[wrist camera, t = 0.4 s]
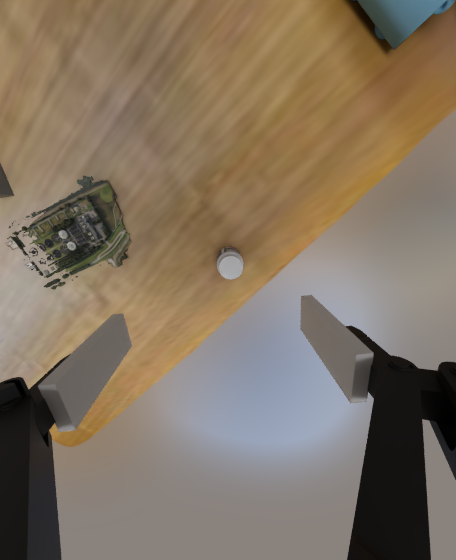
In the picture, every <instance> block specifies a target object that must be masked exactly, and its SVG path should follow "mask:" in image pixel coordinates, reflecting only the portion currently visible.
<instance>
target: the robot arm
mask: <svg viewBox="0 0 456 560" xmlns="http://www.w3.org/2000/svg"><path fill="white" fill-rule="evenodd" d="M301 330H302V332H303V333H304V334H305V336H306V338H307V339H308V341H309V342H310V344H311V345H312V347H313V348H314V350H315V351H316V353H317V354H318V355H319V357H320V358H321V360H322V362H323V363H324V364H325V366H326V367H327V369H328V370H329V372H330V373H331V375H332V376H333V378H334V379H335V381H336V382H337V384H338V385H339V387H340V388H341V390H342V391H343V393H344V394H345V396H346V397H347V399H348V400H349V401H350V403H358V402H366V401H367V395H368V392H369V393H370V394H371V396H372V397H373V398H374V403H373V408H372V414H371V420H370V427H369V433H368V439H367V444H366V450H365V456H364V463H363V468H362V475H361V480H360V487H359V492H358V498H357V505H356V511H355V517H354V523H353V529H352V534H351V540H350V546H349V552H348V558H347V560H431V554H430V538H429V522H428V506H427V491H426V490H427V489H426V474H425V458H424V442H423V425H422V419H425V420H429V421H430V423H431V426H432V428H433V430H434V432H435V434H436V437H437V439H438V441H439V444H440V446H441V448H442V450H443V452H444V455H445V457H446V459H447V461H448V464H449V466H450V468H451V471H452V472H453V475H454V477H455V479H456V363H455V362H442V363H441V364H440V365H439V367H438V371H434V370H427V369H419V368H417V367H416V366H415V365H414V364H413V363H412V362H410V361H408V360H406V359H404V358H401V357H397V356H390V355H389V354H388V353H387V352H386V351H384V350H383V349H382V348H381V347H380V346H378V345H377V344H376V343H375V342H374V341H372V340H371V339H370V338H369V337H367V335H366V334H364V333H363V332H362V331H361V330H359V329H357V328H355V327H353V326H344V325H343V324H342V323H341V322H340V321H339V320H338V319H337V318H335V317H334V316H333V315H332V314H331V313H330V312H329V311H328V310H327V309H326V308H325V307H324V306H323V305H322V304H320V303H319V302H318V301H317V300H316V299H315V298H314V297H313V296H312V295H308V296H301ZM131 346H132V344H131V341H130V337H129V333H128V330H127V326H126V322H125V319H124V315H123V314H114V315H112V316H111V317H110V318H109V319H108V320H107V321H105V322H104V323H103V324H102V325H101V326H100V327H99V328H98V329H97V330H96V331H95V332H94V333H93V334H92V335H91V336H90V337H89V338H88V339H87V340H85V341H84V342H83V343H82V344H81V345H80V346H79V347H78V348H77V349H76V350H75V351H74V352H73V353H72V354H70V355H68V356H66V357H65V358H63V359H62V360H60V361H59V362H58V363H57V364H56V365H55V366H54V367H53V368H52V369H51V370H50V371H48V372H47V374H45V375H44V376H43V377H42V378H41V379H40V380H39V381H38V382H37V383H35V384H34V385H33V386H32V387H31V388H30V389H29V390H28V388H27V386H26V383H25V381H24V380H23V378H21V377H17V378H11V379H8V380H6V381H3V382H1V383H0V560H61V548H60V535H59V523H58V511H57V498H56V486H55V474H54V461H53V449H52V437H51V434H50V432H49V429H50V428H51V427H52V426H53V424H54V423H55V424H56V426H57V428H58V430H59V432H62V431H72V430H76V429H77V427H78V426H79V424H80V423H81V421H82V420H83V418H84V417H85V415H86V414H87V412H88V411H89V409H90V408H91V406H92V405H93V403H94V402H95V400H96V399H97V397H98V396H99V394H100V393H101V391H102V390H103V388H104V387H105V385H106V384H107V382H108V381H109V379H110V378H111V376H112V375H113V373H114V372H115V370H116V369H117V367H118V366H119V364H120V363H121V361H122V360H123V358H124V357H125V355H126V354H127V352H128V351H129V349H130V348H131Z"/></svg>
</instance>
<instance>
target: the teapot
mask: <svg viewBox="0 0 456 560" xmlns="http://www.w3.org/2000/svg"><path fill="white" fill-rule="evenodd" d="M351 1H356V0H351ZM357 1H358V3H359V4H360V5H361V7H362V8H363V9H364V11H365V12H366V13H367V15H368V16H369V18H370V19H371V20H372V22H373V23H374V24H375V34H376V36H377V37H378V38H379V39H386V40H387V42H388V43H389V44H390V46H391V47H392V48H393V50H395V49H396V48H397V47H398V46H399V45H400V44H401V43H402V42H403V41H404V40H405V39H406V38H407V37H409V36H410V35H411V34H412V33H413V32H414V31H415V30H416V29H417V28H418V27H419V26H420V25H421V24H422V23H423V22H424V21H426V20H427V19H428V18H429V17H430V16H431V15H432V14H433V13H434V14H436V15H438V14H441V13H443V12H445V11H446V10H447V9H449V8H450V7H451V6H452V4H453V3H454V2H455V0H357Z"/></svg>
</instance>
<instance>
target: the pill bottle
mask: <svg viewBox="0 0 456 560" xmlns="http://www.w3.org/2000/svg"><path fill="white" fill-rule="evenodd" d="M243 267H244V262H243V259H242V257H241V255H240V253H239V251H238V250H237V249H236V248H234V247H224V248H223V249H221V250H220V251H219V253H218V255H217V269H218V271H219V273H220V274H221V275H222V276H223V277H224V278H226V279H236V278H237V277H239V276H240V275H241V273H242V271H243Z"/></svg>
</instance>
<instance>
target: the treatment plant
mask: <svg viewBox="0 0 456 560" xmlns="http://www.w3.org/2000/svg"><path fill="white" fill-rule="evenodd" d="M90 180H93V178H92V176H91V178H90V177H86V176H83V180H77V183H78V184H81V185H82V187H84V188H81V190H79V191H77V192H75V193H73V194H72V193H71V195H69V196H68V197H67V198H66V199H63V200H60V201H59V202H58V203H56V204H55V203H54V205H52V206H50V207H48V208H47V209H44V210H42V212H44V211H45V210H47V211H46V212H45V213H44V214H43V215H42V216H40V217H38V219H36V220H35V221H34V222H33V224H32V223H31V225H30V227H29V228H26V227H24V226H23V227H22V231H23V230H24V231H25V232H28V231H29V235H28V236H29V237H32V235H33V236H35V237H37V240H35V241H34V240H33V242H32V243H35V242H36V243H35V244H36V245H37V244H39V245H40V244H41V245H42V246H44V248H45V249H43V247H42V246H39V245H37V246H39V248H41V249H42V250H43V252H47V254H49V255H50V256H48V257H47V260H48V261H49V260H50V261H51V260H52V259H51V258H50V257H51V256H52V258H53V257H54V258H53V260H55V262H53V263H51V264H54V263H56V262H57V261H59V262H58V263H59V264H58V263H56V264H55V265H56V267H57V268H58V267H59V268H58V269H57V270H56V271H54V272H53V273H51V274H49V271H48V270H45V271H44V273H45V274H46V277H47V278H48V277H50V276H52V275H53V274H54V273H57V272H60V271H61V270H64V269H67V268H68V269H67V270H66V271H65V272H67V271H70V270H73V269H75V270H73V271H72V272H70V273H69V274H70V275H73V274H75V273H77V272H79V271H82V270H84V269H86V268H88V267H91V266H93V265H95V264H98V263H99V262H101V261H104V260H105V261H106V259H107V258H108V259H107V262H108V264H111V266H112V267H113V266H114V267H115V268H117V267H119V266H120V265H122V262H121V260H123V259H125V258H127V257H126V255H124V254H125V252H126V251H127V248H128V246H127V245H128V244H130V243H131V241H130V238H129V235H130V234H128V233H126V230H124V227H125V226H123V225H122V221H121V219H122V216H123V215H121V214H119V213H120V210H119V208H118V206H117V204H116V202H115V201H114V200H115V198H116V195H115V194H114V193H113V190H112V189H111V187H110V185H109V183H108V181H107V180H106V181H103V180H101V181H100V182H95V183H92V182H91V181H90ZM91 183H92V185H91ZM42 212H41V211H39V212H37V213H38V214H40V213H42ZM38 214H36V213H35V212H33V213H32V216H34V217H35V216H36V215H38ZM27 217H29V216H27ZM27 217H26V218H27ZM31 218H32V217H31ZM23 219H24V218H23ZM24 220H25V219H24ZM15 222H16V221H15ZM13 223H14V222H13ZM13 223H12V226H13ZM18 225H19V224H18ZM9 228H10V226H9ZM26 230H27V231H26ZM19 232H21V231H19ZM25 232H24V233H25ZM12 234H14V235H18V232H14V233H12ZM24 236H26V235H24V234H23V235H22V237H24ZM10 237H12V236H10ZM10 237H9V238H10ZM16 237H17V236H16ZM16 237H12V240H14V241H9V242H8V243H6V245H7V246H10V247H11V248H12V249H15V248H17V247H18V246H19V248H20V249H21V250H23V251H21V252H23V253H24V255H28V254H27V253H26V252H25V251H24V249H23V246H24V245H23V243H22V242H21V241H20V240H17V239H19V238H18V237H17V239H15V238H16ZM9 238H7V239H9ZM20 242H21V243H20ZM50 242H51V243H50ZM32 243H30V244H32ZM47 244H48V245H47ZM24 247H25V246H24ZM34 249H35V248H34ZM35 250H37V249H35ZM45 250H46V251H45ZM36 252H37V253H38V251H34V250H33V251H32V252H30V253H32V254H35V253H36ZM54 252H55V253H54ZM56 252H58V253H56ZM53 253H54V254H55V256H54V254H53ZM47 254H46V255H47ZM37 255H38V254H37ZM37 255H36V256H37ZM57 255H58V256H57ZM33 256H34V255H33ZM41 259H43V258H41ZM24 260H25V259H24ZM28 260H30V258H28ZM43 260H44V259H43ZM53 260H52V261H53ZM39 262H40V263H41V261H39ZM43 263H44V262H42V263H41V264H43ZM44 264H46V261H45V263H44ZM51 264H49V265H48V266H50V265H51ZM57 264H58V265H57ZM33 265H35V263H34V262H33V261H32V262H31V261H30V263H28V264H26V265H25V266H26V268H29V267H31V266H33ZM100 266H101V265H100ZM34 268H36V271H40V270H39V268H38V267H37V266H36V265H35V266H34V267H33V268H31V269H29V270H33V269H34ZM76 268H77V269H76ZM51 269H52V271H53V270H55V269H54V267H51ZM39 273H40V275H41V276H43V274H42V272H41V271H40V272H39ZM47 274H49V275H47ZM62 274H63V273H62ZM68 276H69V275H68V274H65V275H63V276H62V277H63V278H64V279H65V278H67V277H68ZM44 277H45V276H44ZM76 277H78V276H76ZM60 280H61V279H56V280H54V281H51V282H49V283H47V285H45V286H44V287H50V286H52V284H55V283H57V282H60ZM72 281H73V280H72ZM64 284H65V282H63V283H61V282H60V283H59V285H56V287H57V286H63V285H64ZM56 287H55V286H53V287H52V288H51V289H56Z"/></svg>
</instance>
